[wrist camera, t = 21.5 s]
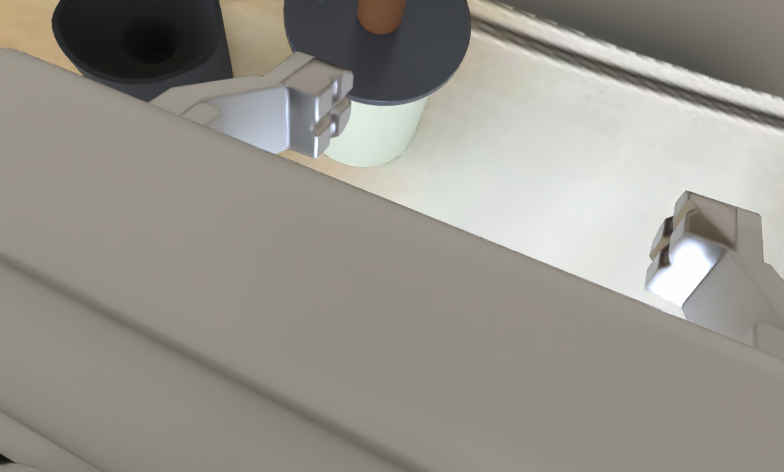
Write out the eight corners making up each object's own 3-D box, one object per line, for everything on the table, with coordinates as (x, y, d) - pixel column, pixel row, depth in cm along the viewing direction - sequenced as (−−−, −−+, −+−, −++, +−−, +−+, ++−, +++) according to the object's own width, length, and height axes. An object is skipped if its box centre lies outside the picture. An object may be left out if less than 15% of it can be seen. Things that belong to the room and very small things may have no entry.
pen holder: (89, 65, 42) (23, -26, 32) (207, 20, 44) (178, -78, 34) (143, 172, 40) (91, 110, 31) (261, 119, 43) (247, 46, 33)
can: (356, 38, 45) (372, -74, 34) (441, 112, 45) (486, 23, 33) (276, 112, 43) (264, 17, 31) (365, 191, 42) (386, 124, 31)
